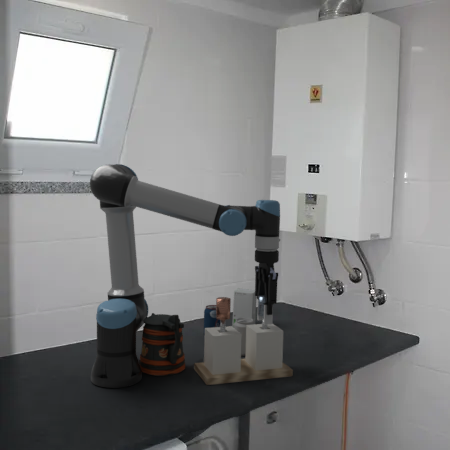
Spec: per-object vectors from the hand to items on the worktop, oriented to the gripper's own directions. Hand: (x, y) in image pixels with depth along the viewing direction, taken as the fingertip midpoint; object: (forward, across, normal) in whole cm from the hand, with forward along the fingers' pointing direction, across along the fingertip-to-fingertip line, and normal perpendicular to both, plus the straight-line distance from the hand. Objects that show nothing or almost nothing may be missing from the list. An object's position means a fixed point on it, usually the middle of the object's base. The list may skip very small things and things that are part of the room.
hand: (264, 322), depth 187 cm
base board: (+16, 0, +7) cm, 17 cm away
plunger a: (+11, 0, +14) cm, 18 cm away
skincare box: (+16, +47, -11) cm, 51 cm away
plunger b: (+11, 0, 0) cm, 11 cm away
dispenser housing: (+14, 0, +7) cm, 16 cm away
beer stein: (+16, +8, +30) cm, 35 cm away
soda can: (+16, +38, +5) cm, 42 cm away
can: (+16, +18, 0) cm, 24 cm away
